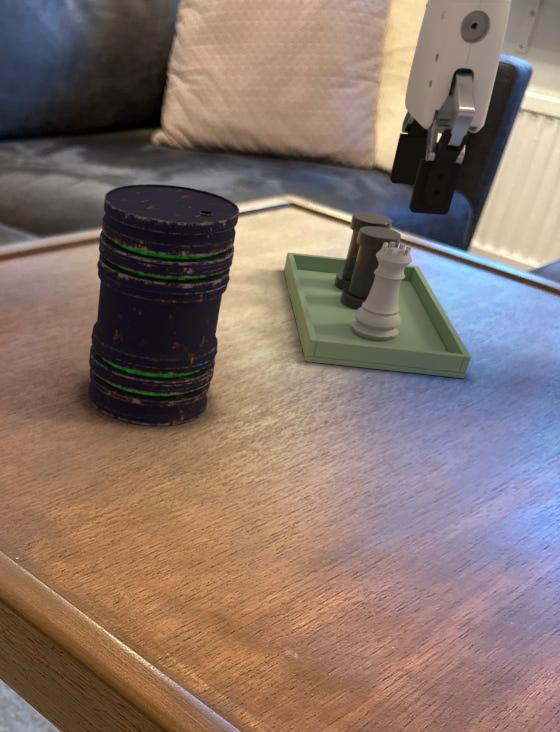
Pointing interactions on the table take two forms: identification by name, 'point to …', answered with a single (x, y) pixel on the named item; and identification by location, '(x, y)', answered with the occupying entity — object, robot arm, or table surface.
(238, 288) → the table surface
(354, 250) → the black piece
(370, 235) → the black piece
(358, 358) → the piece tray
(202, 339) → the dark barrel
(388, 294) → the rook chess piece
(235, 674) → the table surface
